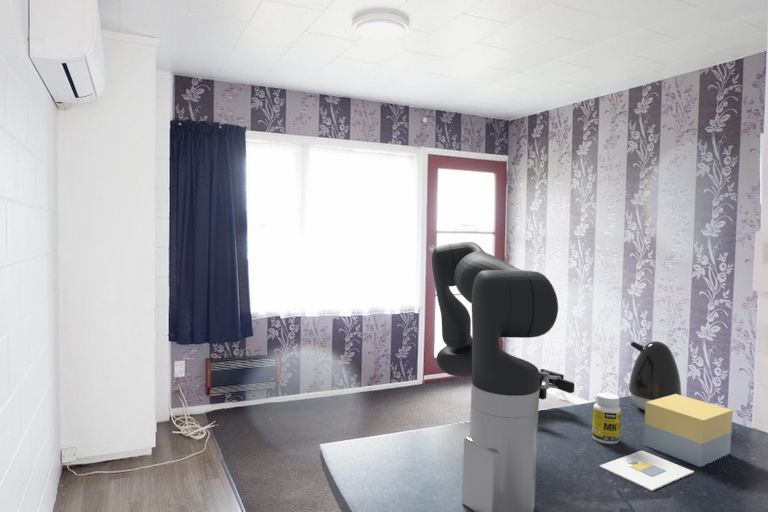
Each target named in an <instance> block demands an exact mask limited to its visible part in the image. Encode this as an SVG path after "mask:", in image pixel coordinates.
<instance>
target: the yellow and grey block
mask: <svg viewBox="0 0 768 512" xmlns="http://www.w3.org/2000/svg"><path fill="white" fill-rule="evenodd" d="M733 413H734V410H733V409H730V408H726V407H723V406H719V405H716V404H713V403H709V402H705V401H702V400H698V399H695V398H692V397H687V396H685V395H682V394H681V395H678V394H673V395H670V396H666V397H663V398H659V399H655V400H652V401H648V402H646V407H645V412H644V426H643V427H644V428H643V446H645V447H647V448H651V449H653V450H654V451H655V450H656V451H658V452H660V453H663V454H666V455H667V456H671V457H673V458H676V459H678V460H680V461H682V462H683V461H684V462H686V463H688V464H691V465H694V466H696V467H699V468H701V466H702V467H704V466H706V464H707V465H708V463H709V464H711V463H714V462H715V460H716V461H718V460H720V459H722V458H721V457H723V456H725V455H727V454H729V453H730V454H731V446H732V445H731V444H732V428H733V426H732V425H733ZM727 456H728V455H727ZM725 457H726V456H725ZM719 458H720V459H719ZM723 458H724V457H723ZM717 459H718V460H717ZM713 461H714V462H713Z"/></svg>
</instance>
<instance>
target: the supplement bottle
mask: <svg viewBox="0 0 768 512" xmlns="http://www.w3.org/2000/svg"><path fill="white" fill-rule="evenodd" d="M595 399H596V400H595V401H596V402H595V403H594V404H593V410H592V411H593V412H592V413H593V414H592V429H591V437H592V438H593V440H595V442H599V443H601V444H606V445H615V444H618V443H619V442H620V433H621V420H622V419H621V418H622V409H621V407H620V403H621V402H620V396H619V395H617V394H614V393H611V392H597V393H596V397H595Z"/></svg>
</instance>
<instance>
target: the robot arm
mask: <svg viewBox="0 0 768 512" xmlns="http://www.w3.org/2000/svg"><path fill="white" fill-rule="evenodd" d="M431 267H432V273H433V275H432V276H433V279H434V280H433V281H434V287H435V293H436V297H437V301H438V302H437V303H438V305H439V311H440V315H441V316H440V317H441V337H442V341H443V342H444V344H445V346H444V347H443V348H442V349H440V350H439V351H438V353H437V355H436V362H437V365H438V368H439V369H440V370H441V371H442V372H444V373H445V374H447V375H450V376H452V377H464V378H465V377H468V378H469V377H471V389H470V414H469V415H470V417H469V418H470V419H469V436H466V437H464V440H463V456H462V457H463V461H462V487H461V488H462V489H461V491H462V492H461V493H462V494H461V503H462V504H464V505H465V506H466V507H468V508H469V509H470V510H472V511H473V512H534V511H535V500H536V499H535V498H536V478H537V477H536V475H537V474H536V471H537V455H538V454H537V451H538V426H539V424H538V423H539V407H540V406H539V404H540V400H541V401H542V400H546V399H547V393H548V392H547V391H548V390H549V389H556V390H560V391H563V392H566V393H569V394H573V393H575V383H574V382H573V381H570V380H566V379H565V375H564V374H562V373H558V372H555V371H551V370H547V369H545V368H540V370H539V368H538V367H537V366H536V365H535V364H533V363H532V362H530V361H528V360H525V359H523V358H520V357H518V356H514V355H512V354H510V353H508V352H506V351H504V349H502V348H501V346H500V338H537V337H541V336H544V335H546V334H547V333H549V331H551V329H552V328H553V327H554V325H555V323H556V320H557V318H558V313H559V302H558V301H559V300H558V296H557V292H556V290H555V288H554V286H553V284H552V283H551V281H550V280H549V278H547V276H546V275H545V274H543V273H542V272H538V271H532V270H525V269H524V270H523V269H520V268H517V267H515V266H514V265H512V264H510V263H508V262H506V261H503V260H502V259H500V258H498V257H496V256H495V255H493V254H490V253H488V252H486V251H484V250H483V248H482V247H481V246H479V244H477V243H476V242H473V241H465V242H463V241H462V242H457V243H456V242H455V243H451V244H450V243H449V244H443V245H439V246H436V247H435V248H433V251H432V254H431ZM450 287H456V289H457V291H458V292H459V293H460V295H461V296H462V297H463V298H464V299H465V300H466V301H467V302H469V303H470V304H471V315H470V313H469V310H468V309H467V307H466V306H465V305H464V303H462V302H461V300H459V299H458V298H457V296H455V295H454V293H453V292H452V291H451V289H450ZM471 330H472V331H471ZM471 332H472V334H471ZM543 383H545V384H543Z"/></svg>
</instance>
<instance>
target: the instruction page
mask: <svg viewBox="0 0 768 512" xmlns="http://www.w3.org/2000/svg"><path fill="white" fill-rule="evenodd" d="M599 468H601V469H604V470H605V471H607V472H610V473H612V474H614V475H616V476H618V477H620V478H623V479H625V480H626V481H627V480H628V481H629V482H631V483H633V484H635V485H638V486H640V487H642V488H645V489H646V490H649V491H651V492H653V491H655V490H657V489H660V488H662V487H664V486H667V485H669V484H671V483H674V482H676V481H678V480H681V479H683V478H686V477H687V476H689V475H692V474H694V473H695V471H694V470H691V469H689V468H686V467H684V466H682V465H679V464H676V463H673V462H671V461H669V460H667V459H664V458H662V457H659V456H657V455H654V454H652V453H649V452H647V451H644V450H639V451H636V452H633V453H630V454H628V455H624V456H622V457H620V458H619V457H618V458H617V459H614V460H611V461H607V462H605V463H603V464H600V465H599ZM680 478H681V479H680ZM673 481H674V482H673Z"/></svg>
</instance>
